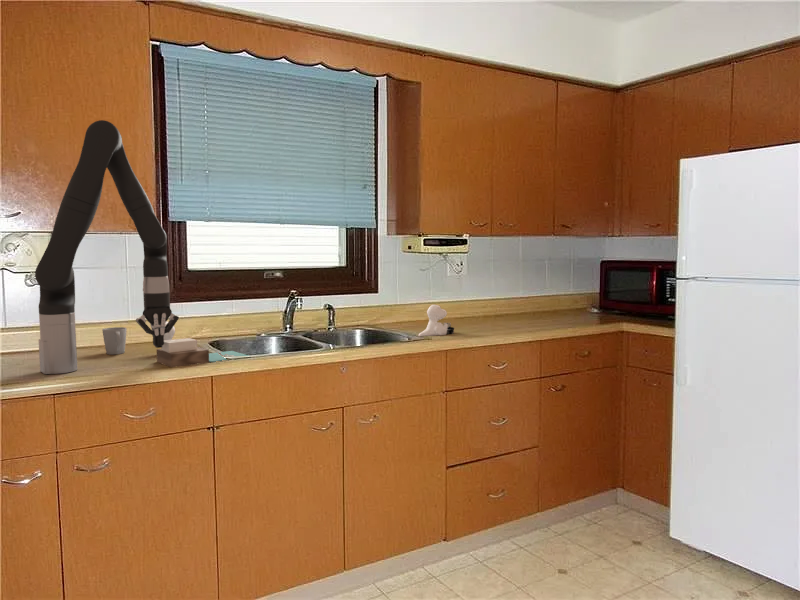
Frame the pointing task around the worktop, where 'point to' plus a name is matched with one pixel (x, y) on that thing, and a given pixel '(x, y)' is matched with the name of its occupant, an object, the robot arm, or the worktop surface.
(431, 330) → the figurine
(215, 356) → the mat
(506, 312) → the worktop surface
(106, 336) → the cup
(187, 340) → the pale pink rectangular block
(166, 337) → the lightbulb
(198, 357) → the brown wooden block
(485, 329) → the worktop surface
